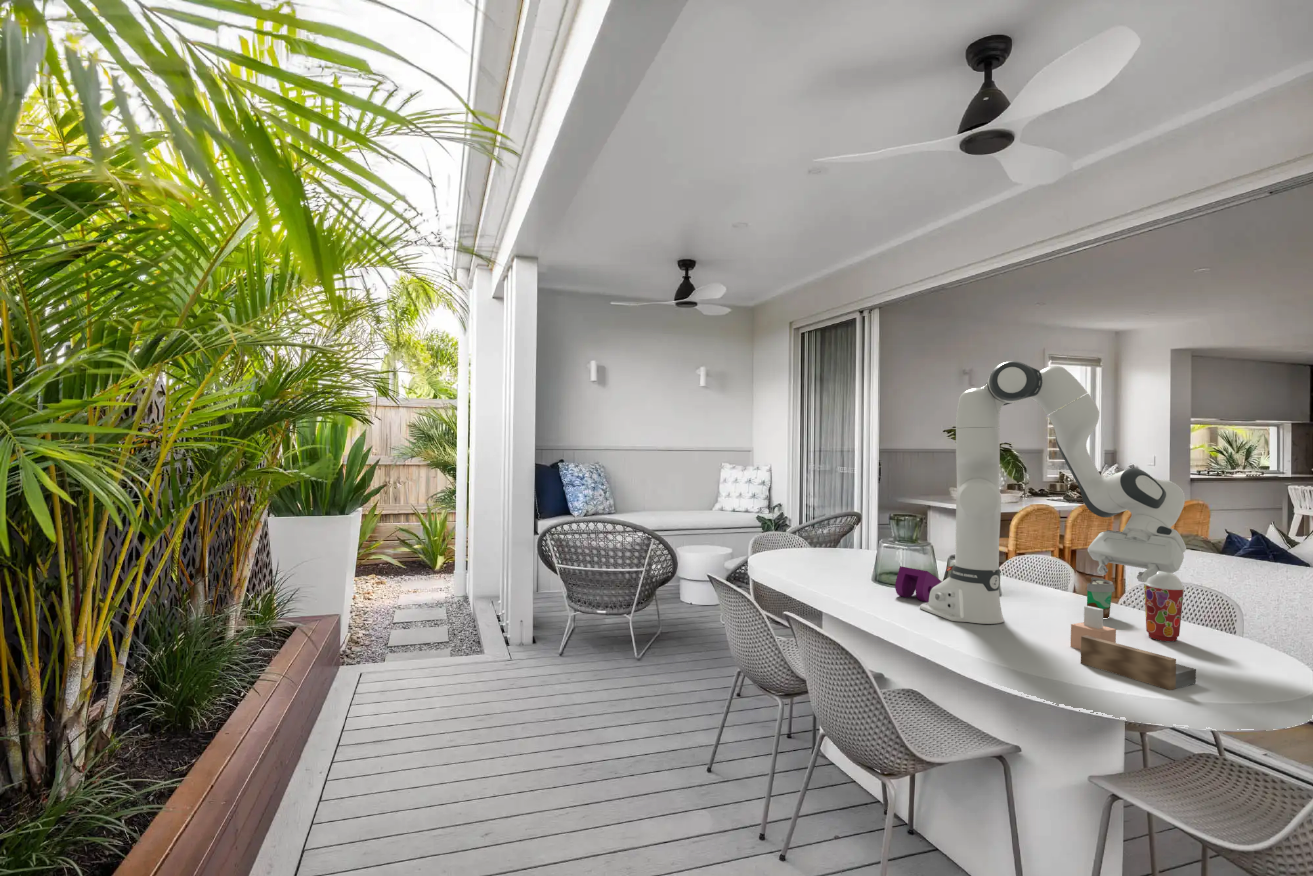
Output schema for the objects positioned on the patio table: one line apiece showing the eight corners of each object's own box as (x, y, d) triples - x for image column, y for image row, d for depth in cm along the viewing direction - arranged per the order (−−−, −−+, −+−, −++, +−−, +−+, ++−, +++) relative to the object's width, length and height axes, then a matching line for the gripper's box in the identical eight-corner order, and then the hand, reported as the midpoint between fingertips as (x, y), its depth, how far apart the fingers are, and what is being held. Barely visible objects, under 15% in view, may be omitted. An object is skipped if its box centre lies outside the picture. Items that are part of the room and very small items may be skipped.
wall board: (1080, 663, 156) (1081, 636, 156) (1106, 658, 160) (1106, 631, 160) (1169, 690, 140) (1170, 660, 140) (1195, 683, 144) (1196, 654, 144)
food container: (1112, 623, 192) (1113, 586, 192) (1086, 619, 196) (1087, 583, 196) (1115, 614, 202) (1116, 580, 202) (1090, 611, 206) (1091, 577, 205)
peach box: (1070, 647, 168) (1071, 605, 168) (1085, 644, 171) (1086, 603, 171) (1100, 655, 162) (1101, 612, 162) (1115, 652, 165) (1116, 610, 165)
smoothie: (1181, 638, 178) (1183, 559, 178) (1184, 645, 171) (1185, 564, 171) (1142, 632, 183) (1144, 556, 183) (1142, 639, 176) (1144, 560, 176)
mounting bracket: (921, 609, 227) (892, 591, 217) (927, 585, 230) (899, 566, 220) (948, 616, 220) (920, 597, 210) (955, 590, 222) (927, 571, 212)
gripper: (1097, 521, 184) (1073, 560, 180) (1184, 531, 166) (1160, 575, 161) (1107, 537, 186) (1083, 576, 182) (1194, 549, 168) (1170, 593, 163)
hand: (1120, 576), depth 171 cm, fingers open, 8 cm apart
